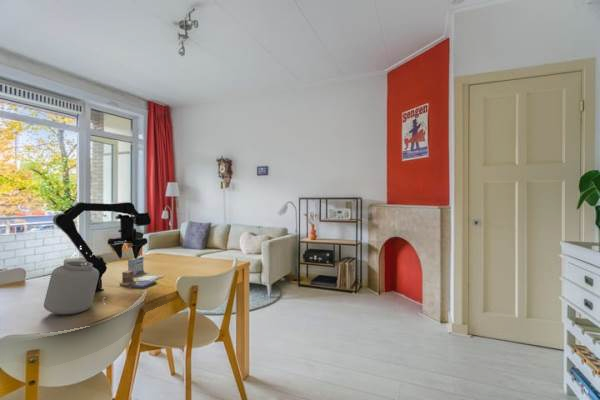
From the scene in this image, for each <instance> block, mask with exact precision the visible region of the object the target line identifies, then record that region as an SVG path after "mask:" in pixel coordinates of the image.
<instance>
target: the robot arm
mask: <svg viewBox="0 0 600 400" xmlns="http://www.w3.org/2000/svg"><path fill="white" fill-rule="evenodd" d="M83 212H114V213H118V215H116V216H114V218H115V219H116V220H119V222H120V226H119V227H120V229H118V230H117V231H118V233H120V236H115V237H110V238H108V240H107V245H109V247H111V248H112V249H113V251H114V252H115V253H116V255H117V257H118V258H119V259H122V257H123V246H124V244H131V248H132V253H133V258H135V259H137V257H139V254H140V251H141V249H142V248H143V247H144V246H146V244H147V245H148V239H147V238H146V237H144V233H143V232H140V231H137V229H136V228H135V226H137V227H145V226H146V227H147V226H150V225H151V221H152V220H151V216H150V214H149V212H147V211H146V212H145V211H144V212H139V211H137V210H136V208H135V204H133V203H132V202H129V201H128V202H127V201H122V202H121V201H120V202H115V203H96V202H83V201H82V202H80V201H79V202H76V203H75V204H74V205H72V206H71V207H70V208H68V209H66V210H65V211H63V212H61V213H58V214H57V213H56V215H54V216H53V218H52V222H53V224H54V225H55V226H56V227H57V228H58V229H60V231H62V232H63V233H64V234H66V236H67V237H68V239H69V240H70V241H71V243H72V244H73V245H74V247H75V248H76V249H77V251H78V252H79V254H80V255H81V256H82V258H83V260H84V262H89V263H92V264H93V268H95V269H97V270H98V271H99V278H98V282H97V286H96V290H95V294H96V293H99V292H102V291H104V290H105V288H103V280H102V277H103V276H104V274H105V273H106V271H107V269H108V267H107V265H108V263H106V262H105V261H104V258H103V256H100V255H97V256H96V255H95V254H94V252H93V251H92V249H91V248H90V246H89V245H88V244H87V242H86V240H84V238H83V237H82V235H81V234H80V233H79V231H78V230H77V227H76V224H75V223H76V222H75V221H74V220H75V219H76V218H78V216H80V215H81V214H82V213H83ZM80 246H81V247H80ZM80 248H82V249H80ZM86 253H87V254H86ZM92 254H93V255H92ZM90 256H91V257H90Z"/></svg>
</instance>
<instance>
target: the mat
mask: <svg viewBox="0 0 600 400" xmlns="http://www.w3.org/2000/svg"><path fill="white" fill-rule="evenodd" d="M164 277H165V276H164V275H159V274H158V275H157V274H143V275H142V276H139V277H136V278H134V280H136V282H137V283H139V282H142V281H145V280H146V281H156V280H158V279H162V278H164Z"/></svg>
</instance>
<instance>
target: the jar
mask: <svg viewBox="0 0 600 400" xmlns="http://www.w3.org/2000/svg"><path fill="white" fill-rule="evenodd" d="M80 247H81V246H80ZM80 249H82V248H80ZM76 254H77V253H76V252H74V254H72V256H71V257H73V256H74V255H76ZM86 254H87V253H86ZM93 254H94V253H93ZM93 254H92V255H93ZM90 257H91V256H90ZM61 262H62V263H61V264H62V265H60V266H57V267H56V268H54V269H53V270H52V271H51V273H50V278H49V283H48V287H47V290H46V293H45V297H44V302H43V308H44V309H45V310H46V311H47V312H50V313H51V314H57V315H75V314H79V313H82V312H85V311H87V310H88V309H90V307H92V305H93V302H94V298H95V294H96V293H95V290H96V286H97V282H98V278H99V271H98V270H97V269H95V268H93V264H92V263H89V262H85V260H69V261H65V262H64V263H63V261H61ZM104 299H105V297H103V299H102V301H103V300H104ZM104 302H105V301H103V303H104ZM104 305H106V303H104Z"/></svg>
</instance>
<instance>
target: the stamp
mask: <svg viewBox="0 0 600 400" xmlns="http://www.w3.org/2000/svg"><path fill="white" fill-rule="evenodd" d="M121 275H122V280H121V281H120V282H119V286H121V287H126V288H128V287H131V286H132V285H134V284H137V281H136V280H134V279H135V278H134V271H128V270H126V271H122V274H121Z"/></svg>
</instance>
